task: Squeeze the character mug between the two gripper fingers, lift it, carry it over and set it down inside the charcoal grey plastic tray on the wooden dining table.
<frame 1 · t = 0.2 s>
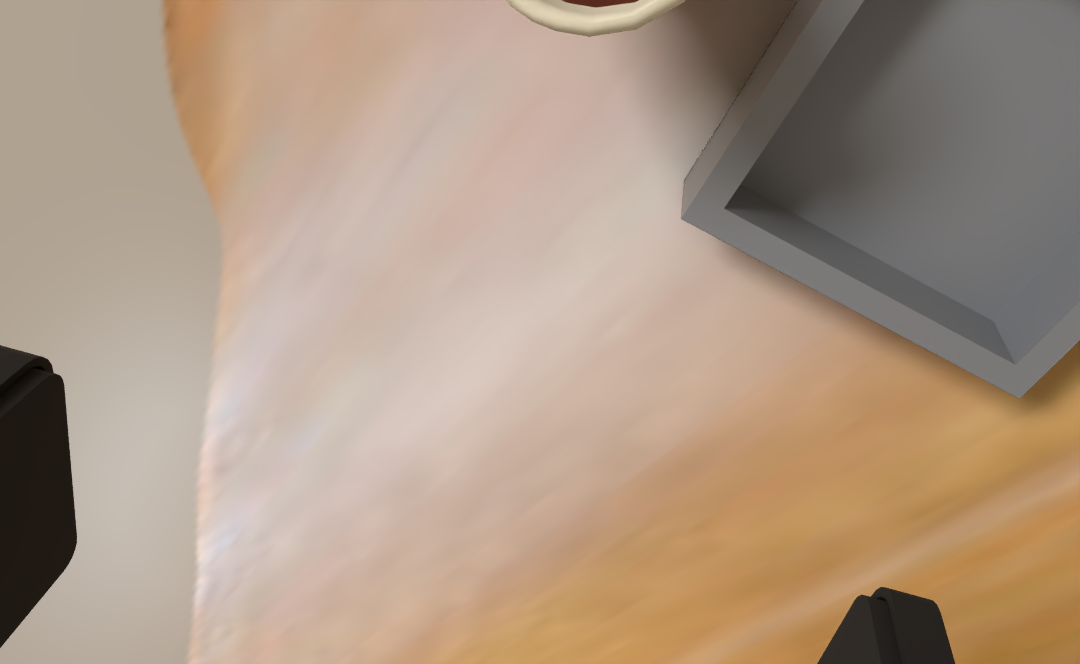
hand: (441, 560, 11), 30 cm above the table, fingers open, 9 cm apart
grey tray: (966, 109, 36), on the table
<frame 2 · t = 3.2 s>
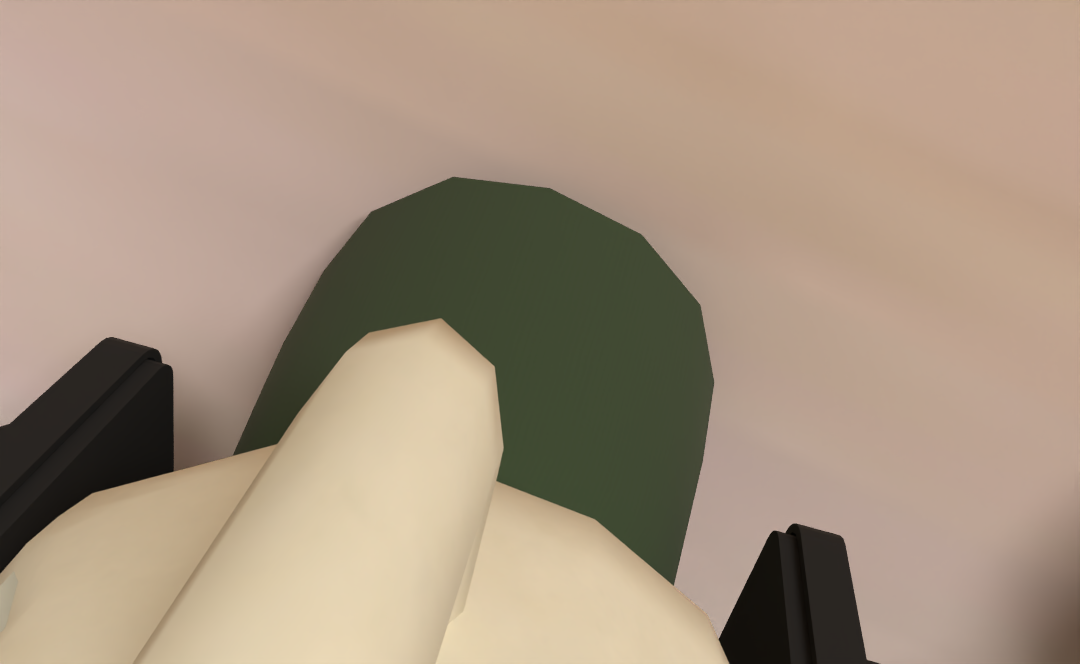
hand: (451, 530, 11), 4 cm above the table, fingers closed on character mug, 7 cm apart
character mug: (517, 338, 15), on the table, touching gripper
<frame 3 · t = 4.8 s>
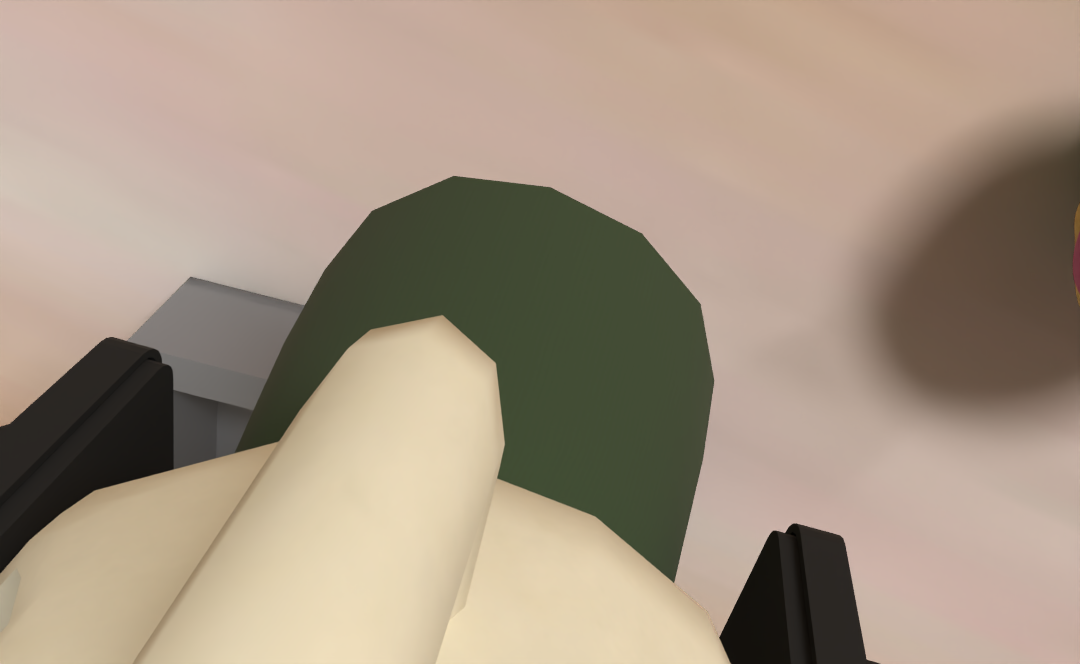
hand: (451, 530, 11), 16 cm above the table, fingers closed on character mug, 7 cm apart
grey tray: (403, 520, 33), on the table
character mug: (517, 337, 15), point 11 cm above the table, touching gripper
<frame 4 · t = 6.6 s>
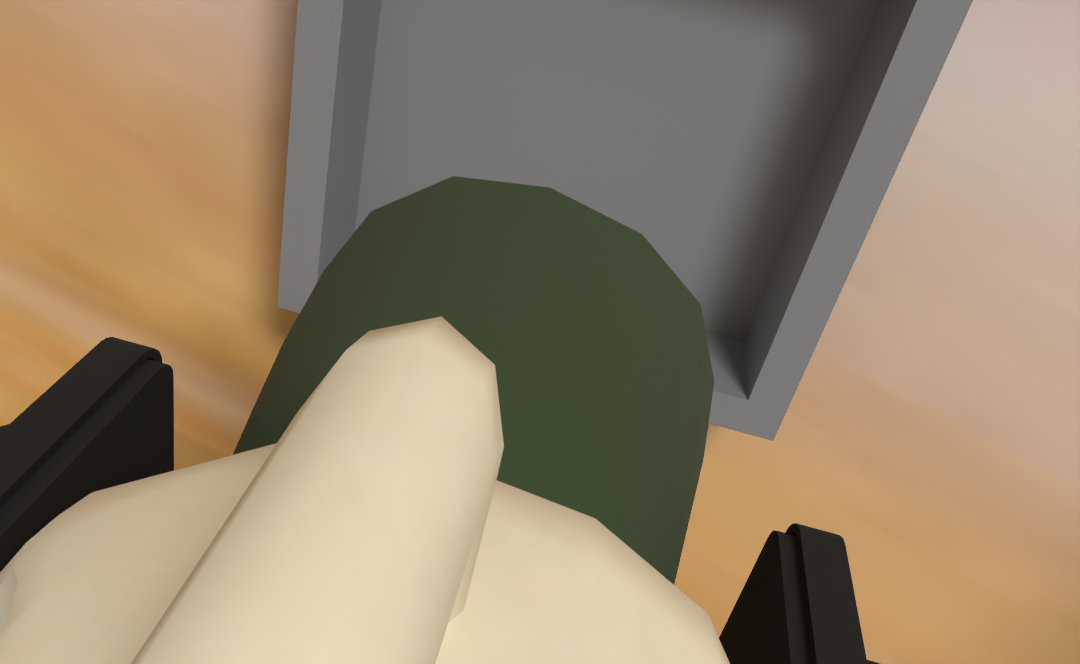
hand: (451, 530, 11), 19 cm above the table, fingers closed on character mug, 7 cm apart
grey tray: (598, 90, 27), on the table
character mug: (517, 338, 15), point 15 cm above the table, touching gripper
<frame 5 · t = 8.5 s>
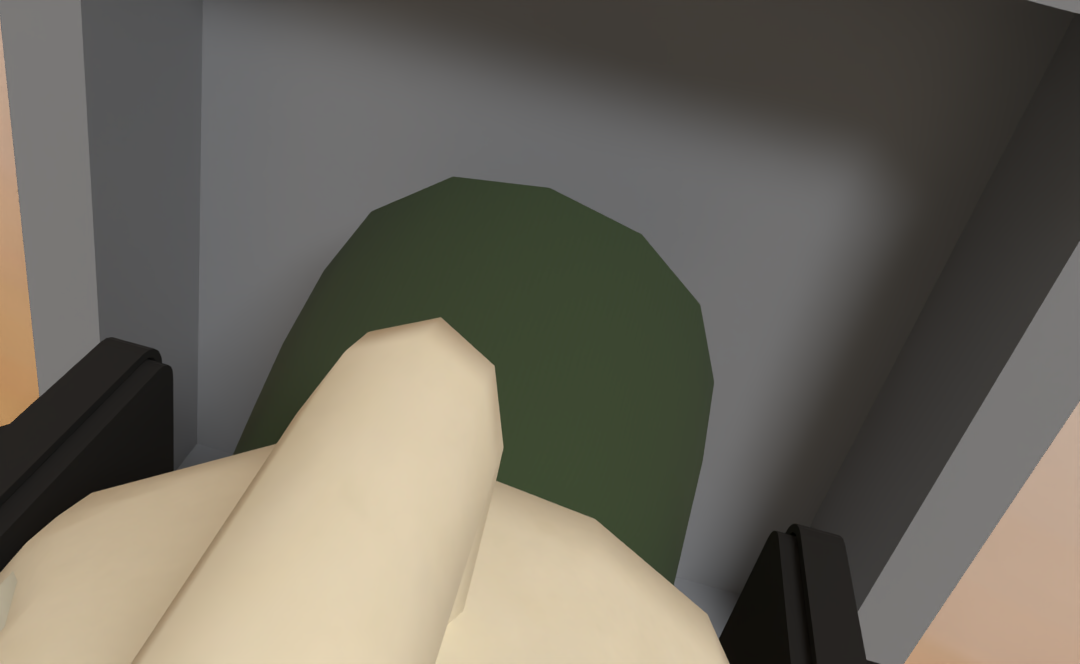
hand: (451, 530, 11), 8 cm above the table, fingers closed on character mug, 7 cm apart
grey tray: (548, 254, 18), on the table
character mug: (517, 338, 15), point 3 cm above the table, touching gripper
when the fingers open (6 cm above the table, at t = 10.0 s): character mug stays where it is, resting on grey tray.
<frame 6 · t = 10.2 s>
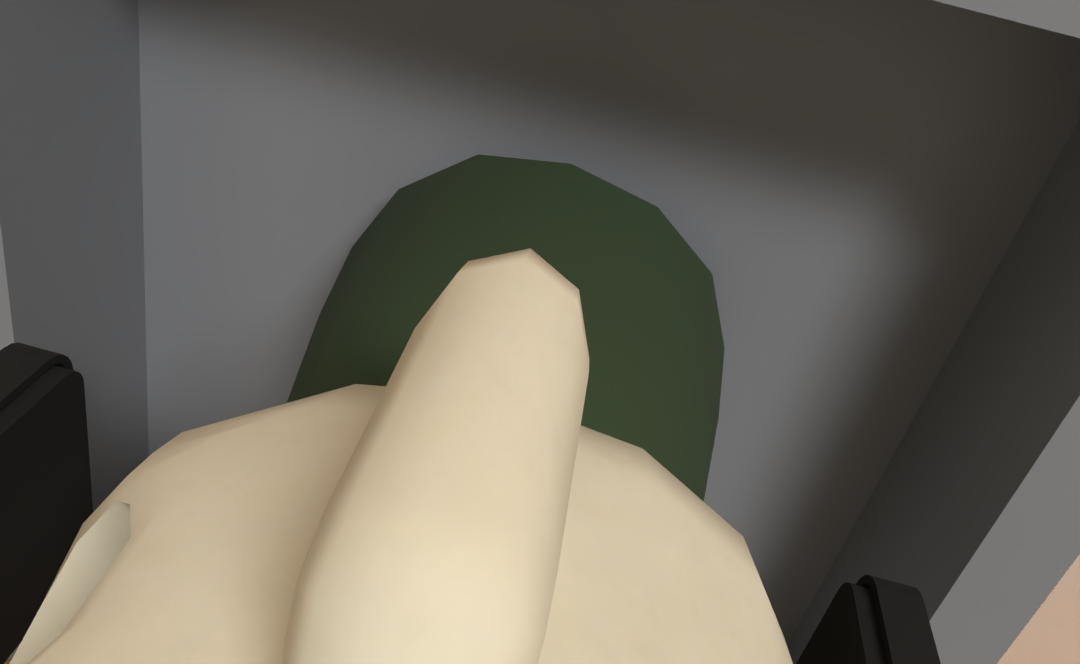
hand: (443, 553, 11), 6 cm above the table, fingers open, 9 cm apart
grey tray: (528, 302, 16), on the table
character mug: (534, 311, 16), resting on grey tray
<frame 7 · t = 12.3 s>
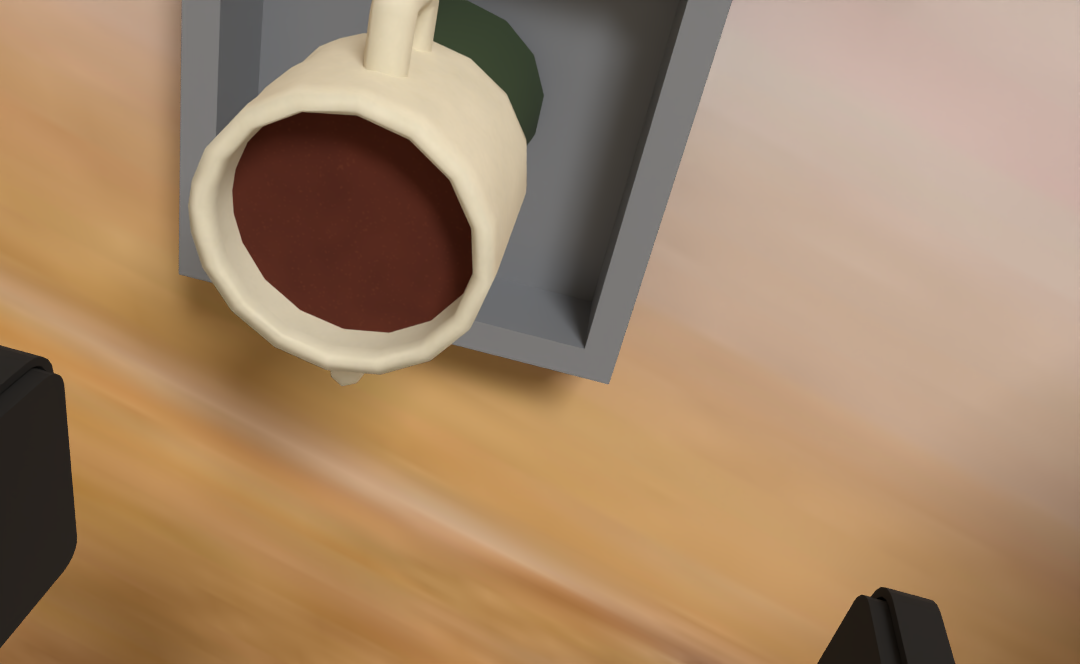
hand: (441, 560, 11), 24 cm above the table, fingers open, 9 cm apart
grey tray: (453, 84, 32), on the table
character mug: (456, 86, 32), resting on grey tray
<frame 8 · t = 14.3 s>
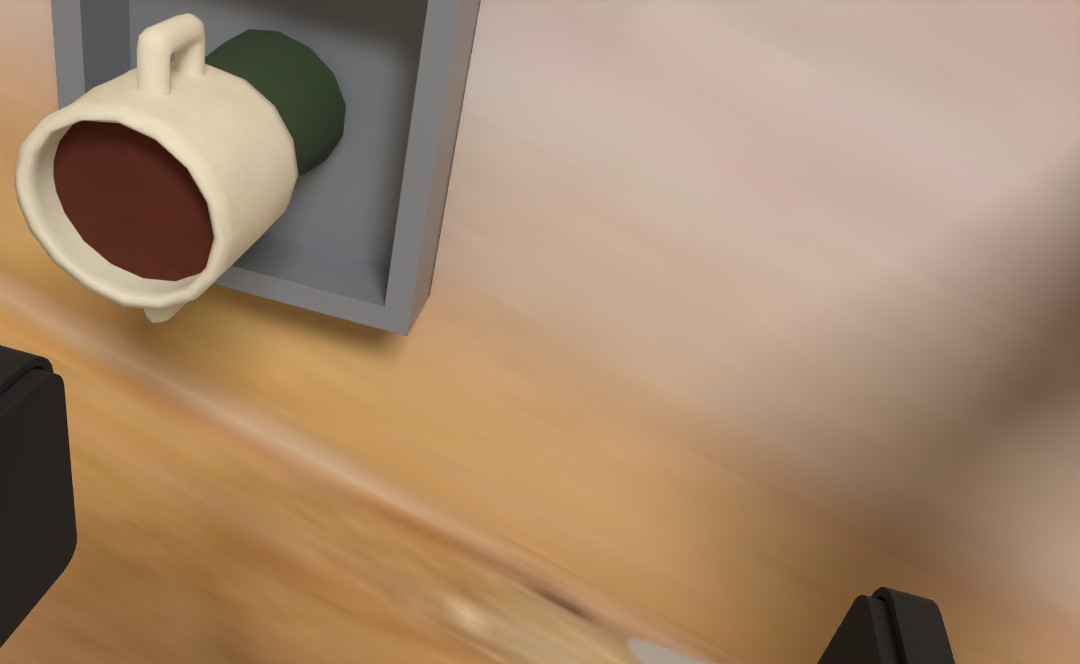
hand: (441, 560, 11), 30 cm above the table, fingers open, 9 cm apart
grey tray: (282, 95, 40), on the table
character mug: (283, 97, 40), resting on grey tray
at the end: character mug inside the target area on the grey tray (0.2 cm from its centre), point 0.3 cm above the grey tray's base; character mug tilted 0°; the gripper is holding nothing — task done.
